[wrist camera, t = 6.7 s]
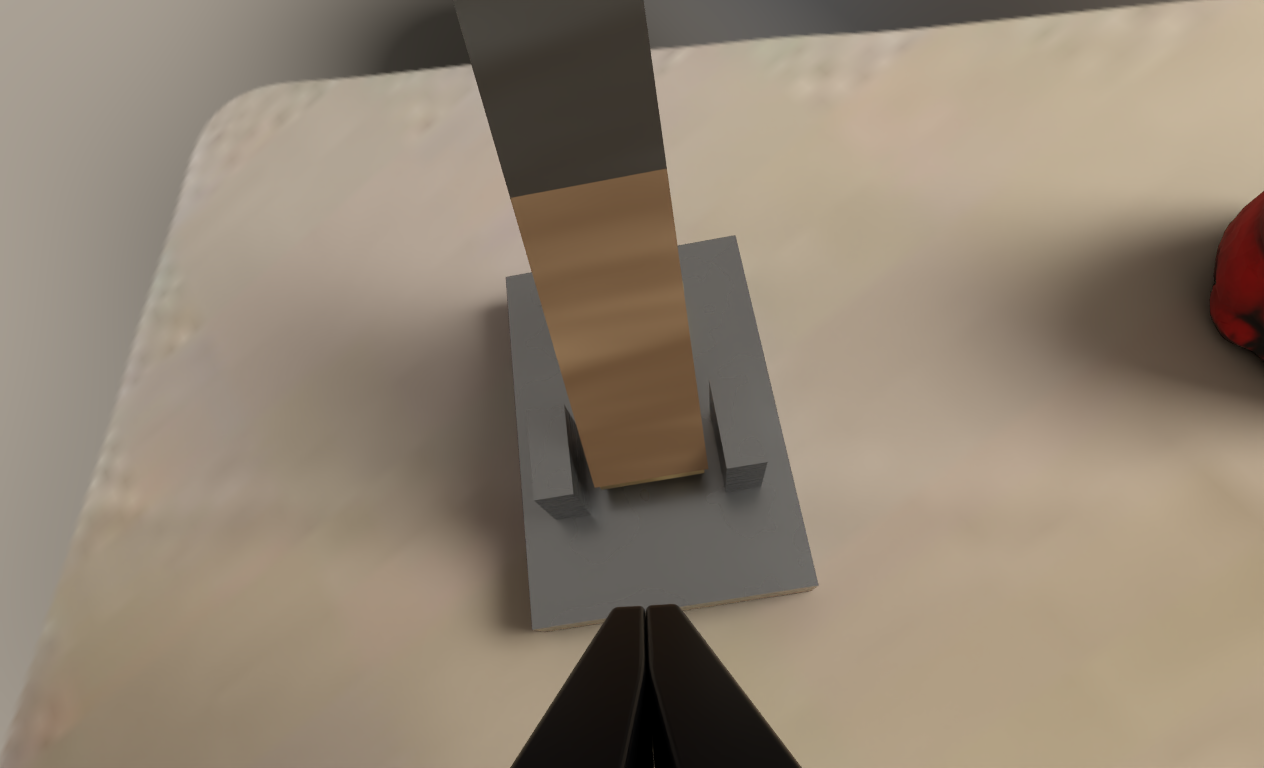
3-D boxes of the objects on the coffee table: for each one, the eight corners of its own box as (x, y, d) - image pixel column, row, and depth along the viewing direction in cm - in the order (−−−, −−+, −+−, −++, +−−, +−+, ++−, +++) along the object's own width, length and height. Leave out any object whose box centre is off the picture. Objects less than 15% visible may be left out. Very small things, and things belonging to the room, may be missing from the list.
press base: (811, 591, 19) (845, 566, 14) (545, 631, 19) (486, 622, 14) (734, 260, 23) (739, 151, 18) (517, 299, 24) (465, 203, 19)
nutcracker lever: (711, 490, 18) (619, -173, 10) (600, 508, 18) (415, -129, 10) (700, 439, 20) (613, -167, 11) (598, 456, 20) (437, -130, 11)
